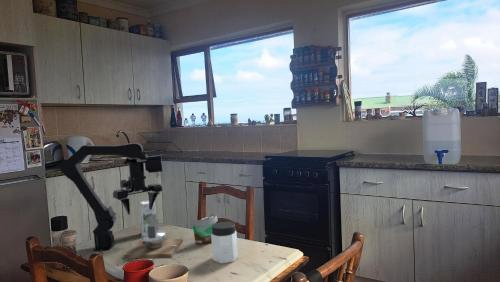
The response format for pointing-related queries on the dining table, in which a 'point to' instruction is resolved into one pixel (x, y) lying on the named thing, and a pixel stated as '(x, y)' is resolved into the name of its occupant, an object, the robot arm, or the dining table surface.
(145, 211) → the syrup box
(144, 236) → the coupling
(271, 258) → the dining table surface
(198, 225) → the food container
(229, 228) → the jar
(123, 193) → the robot arm
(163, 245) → the brown flat slab
